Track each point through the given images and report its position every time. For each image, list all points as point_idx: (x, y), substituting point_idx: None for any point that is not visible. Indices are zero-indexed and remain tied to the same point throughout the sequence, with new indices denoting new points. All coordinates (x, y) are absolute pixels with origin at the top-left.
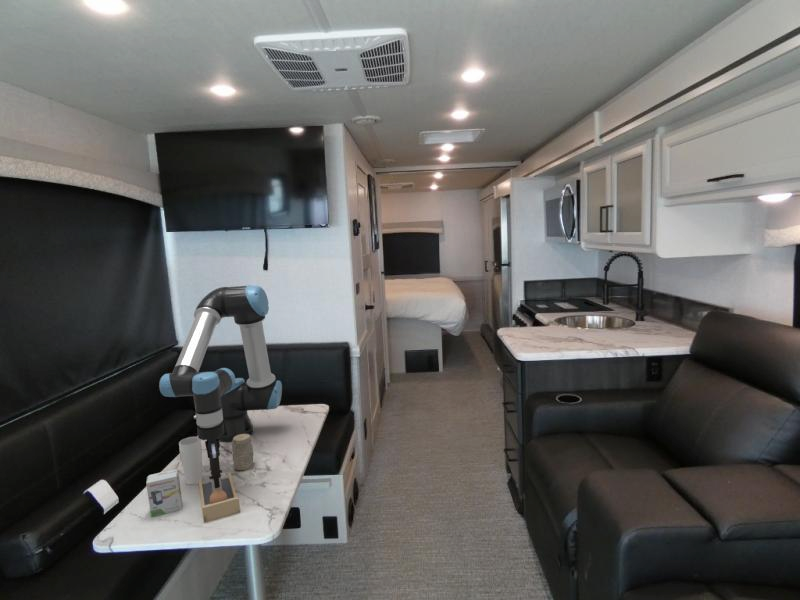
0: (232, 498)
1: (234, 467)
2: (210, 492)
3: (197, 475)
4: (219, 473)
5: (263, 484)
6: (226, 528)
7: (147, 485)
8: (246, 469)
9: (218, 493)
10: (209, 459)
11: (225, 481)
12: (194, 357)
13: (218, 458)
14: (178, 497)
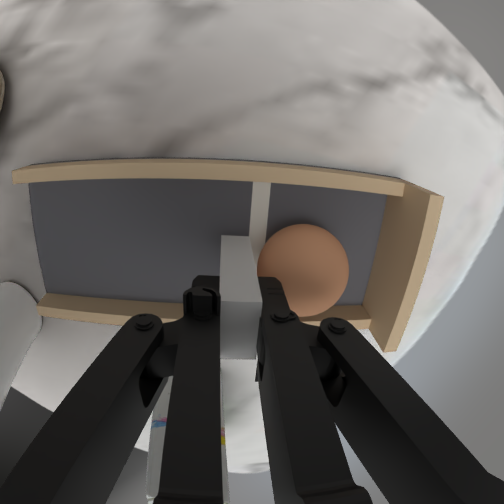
0: (426, 225)
1: None
2: (131, 271)
3: (18, 322)
4: (370, 351)
5: (187, 9)
6: (441, 244)
7: None
8: (4, 88)
9: (335, 287)
10: (132, 444)
11: (56, 193)
12: None
13: (482, 471)
14: (223, 417)
